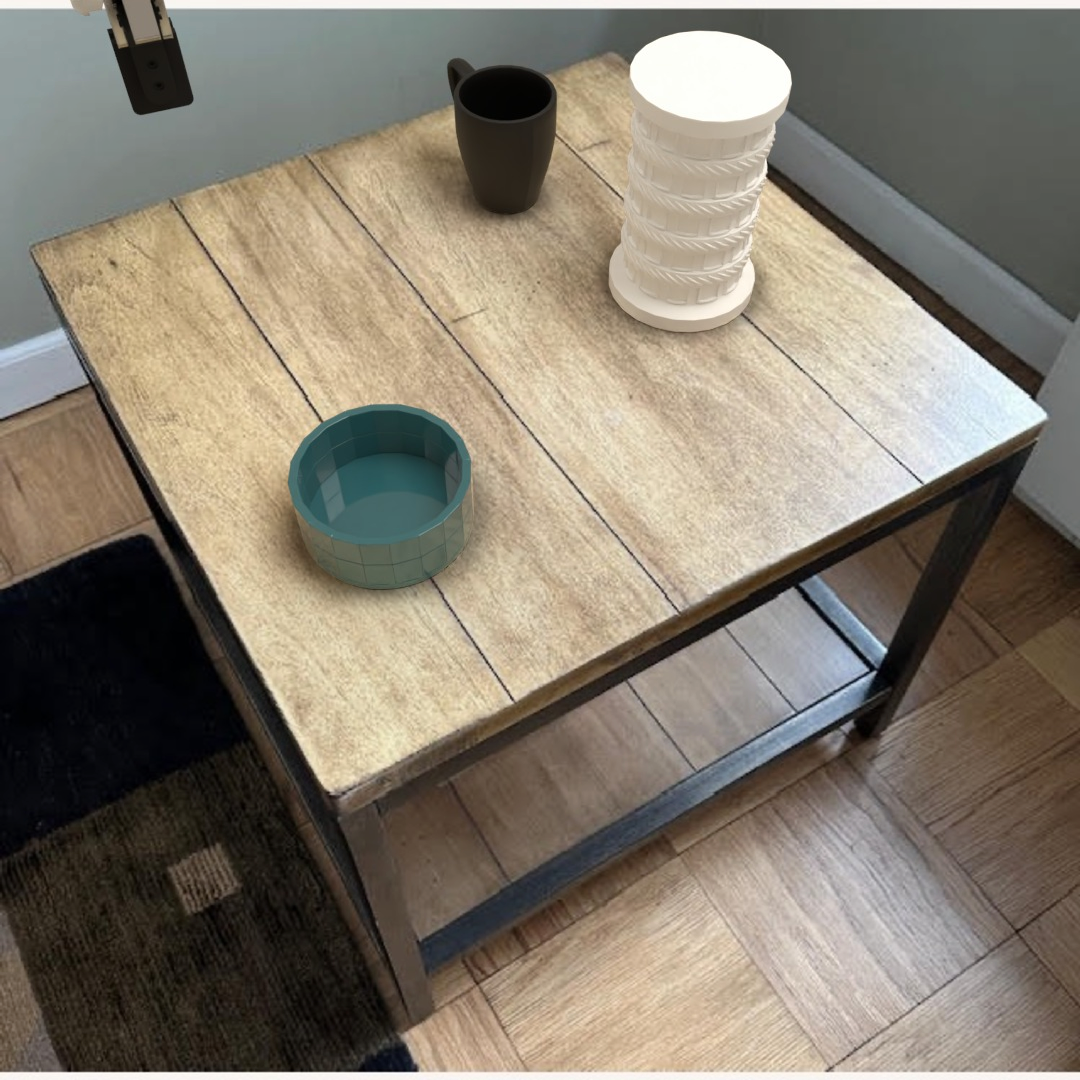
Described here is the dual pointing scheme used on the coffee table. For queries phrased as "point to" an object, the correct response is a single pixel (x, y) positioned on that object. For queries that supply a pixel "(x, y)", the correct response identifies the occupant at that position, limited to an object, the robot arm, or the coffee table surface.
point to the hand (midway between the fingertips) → (162, 101)
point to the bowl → (383, 495)
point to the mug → (503, 131)
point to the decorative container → (695, 177)
